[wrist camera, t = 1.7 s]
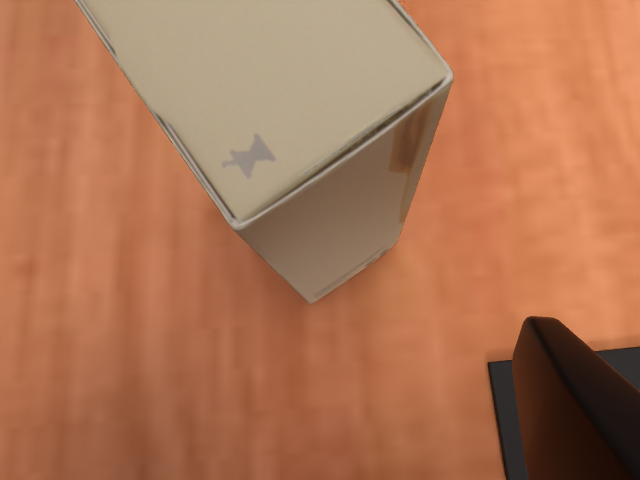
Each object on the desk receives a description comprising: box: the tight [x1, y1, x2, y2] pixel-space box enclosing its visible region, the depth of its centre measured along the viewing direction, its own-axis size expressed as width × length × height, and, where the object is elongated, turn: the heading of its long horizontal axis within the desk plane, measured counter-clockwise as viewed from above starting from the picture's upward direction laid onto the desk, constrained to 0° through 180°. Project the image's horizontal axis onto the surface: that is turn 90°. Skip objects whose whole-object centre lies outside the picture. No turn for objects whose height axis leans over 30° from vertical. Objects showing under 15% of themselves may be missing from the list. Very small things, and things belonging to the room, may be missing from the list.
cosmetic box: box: [74, 0, 453, 304], centre depth 14 cm, size 6×4×12 cm
